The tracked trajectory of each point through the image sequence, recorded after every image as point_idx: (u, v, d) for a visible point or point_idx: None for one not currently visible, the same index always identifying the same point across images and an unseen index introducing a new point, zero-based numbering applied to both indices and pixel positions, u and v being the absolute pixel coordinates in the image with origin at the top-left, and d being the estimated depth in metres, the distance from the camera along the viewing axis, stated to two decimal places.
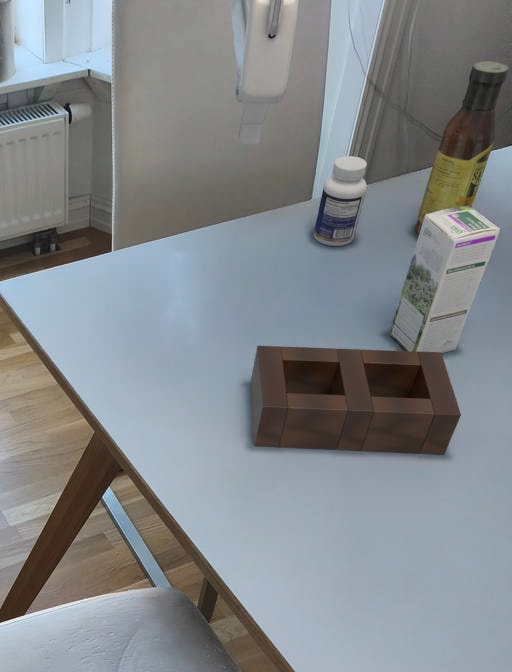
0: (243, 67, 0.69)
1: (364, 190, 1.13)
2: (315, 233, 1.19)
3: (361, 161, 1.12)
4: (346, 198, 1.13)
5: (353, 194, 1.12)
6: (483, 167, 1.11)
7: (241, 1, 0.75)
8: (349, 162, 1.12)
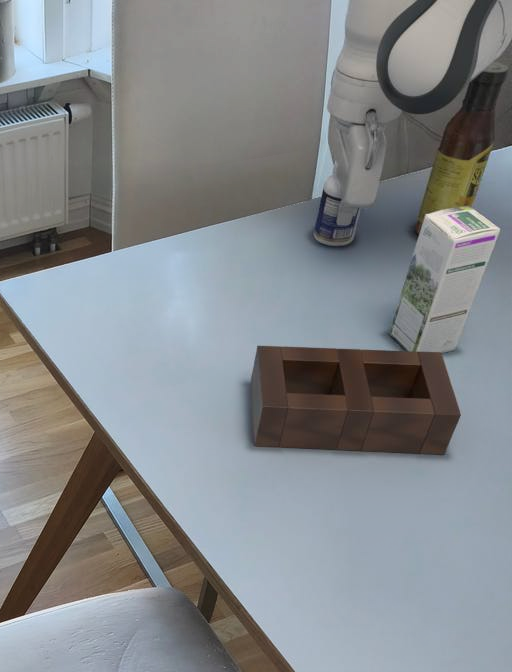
0: (347, 186, 1.05)
1: None
2: (315, 233, 1.19)
3: None
4: None
5: None
6: (483, 167, 1.11)
7: (340, 135, 1.11)
8: None
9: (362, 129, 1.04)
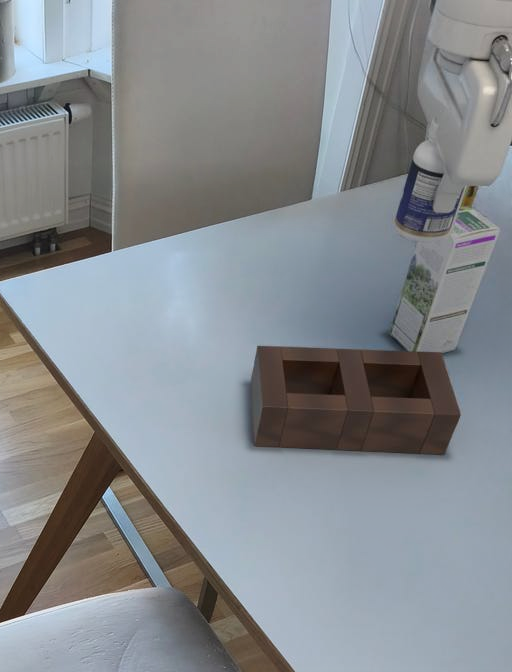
0: (460, 152, 0.71)
1: None
2: (397, 224, 0.84)
3: None
4: None
5: None
6: None
7: (443, 81, 0.77)
8: None
9: (486, 67, 0.69)
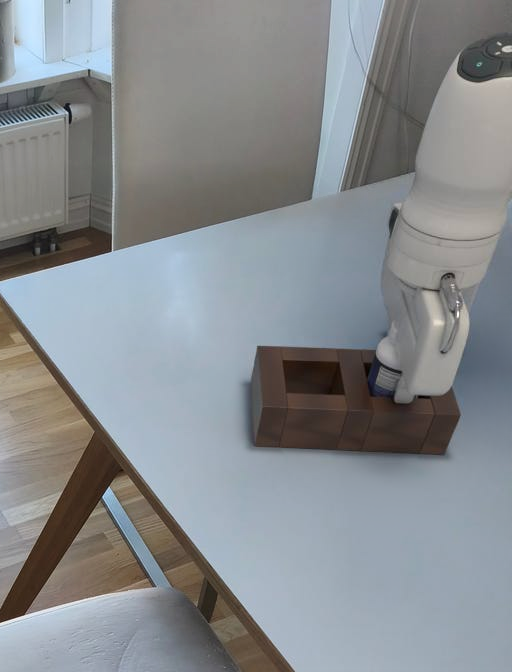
0: (415, 371, 0.79)
1: None
2: None
3: None
4: None
5: None
6: None
7: (401, 292, 0.85)
8: None
9: (436, 298, 0.78)
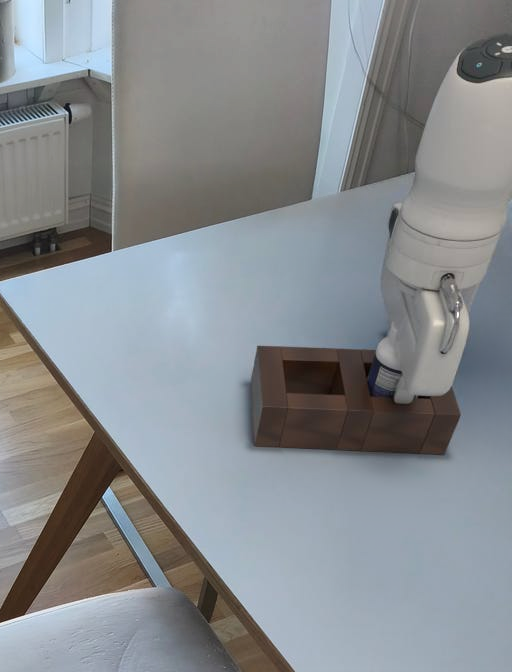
0: (415, 371, 0.79)
1: None
2: None
3: None
4: None
5: None
6: None
7: (401, 292, 0.85)
8: None
9: (436, 299, 0.78)
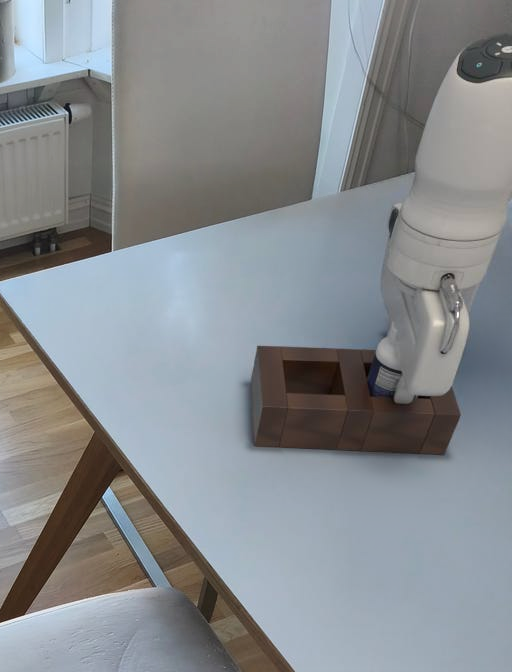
0: (415, 371, 0.79)
1: None
2: None
3: None
4: None
5: None
6: None
7: (401, 292, 0.85)
8: None
9: (436, 299, 0.78)
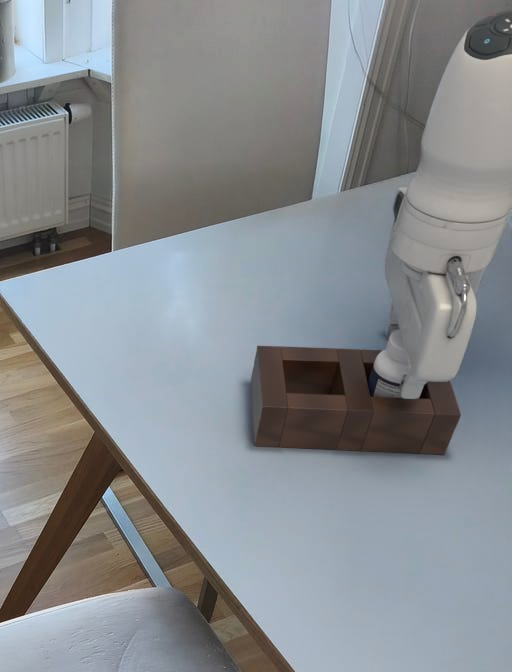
0: (421, 356, 0.78)
1: None
2: None
3: None
4: None
5: None
6: None
7: (406, 277, 0.84)
8: None
9: (442, 283, 0.77)
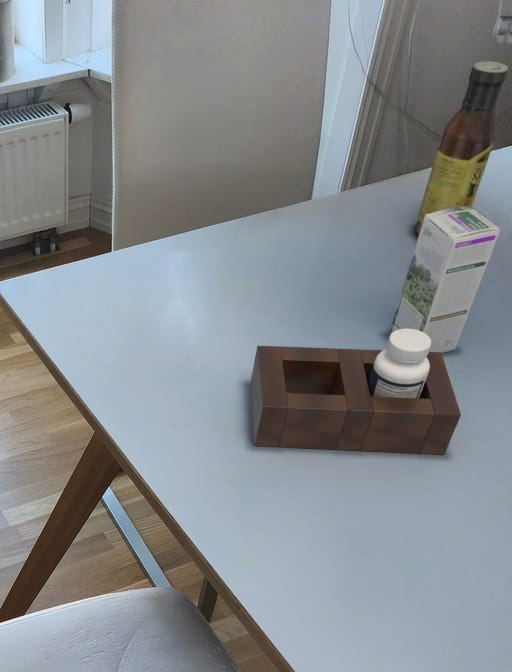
0: None
1: (427, 372, 0.88)
2: None
3: (424, 337, 0.87)
4: (404, 384, 0.88)
5: (413, 379, 0.87)
6: (483, 167, 1.11)
7: None
8: (409, 338, 0.87)
9: None
